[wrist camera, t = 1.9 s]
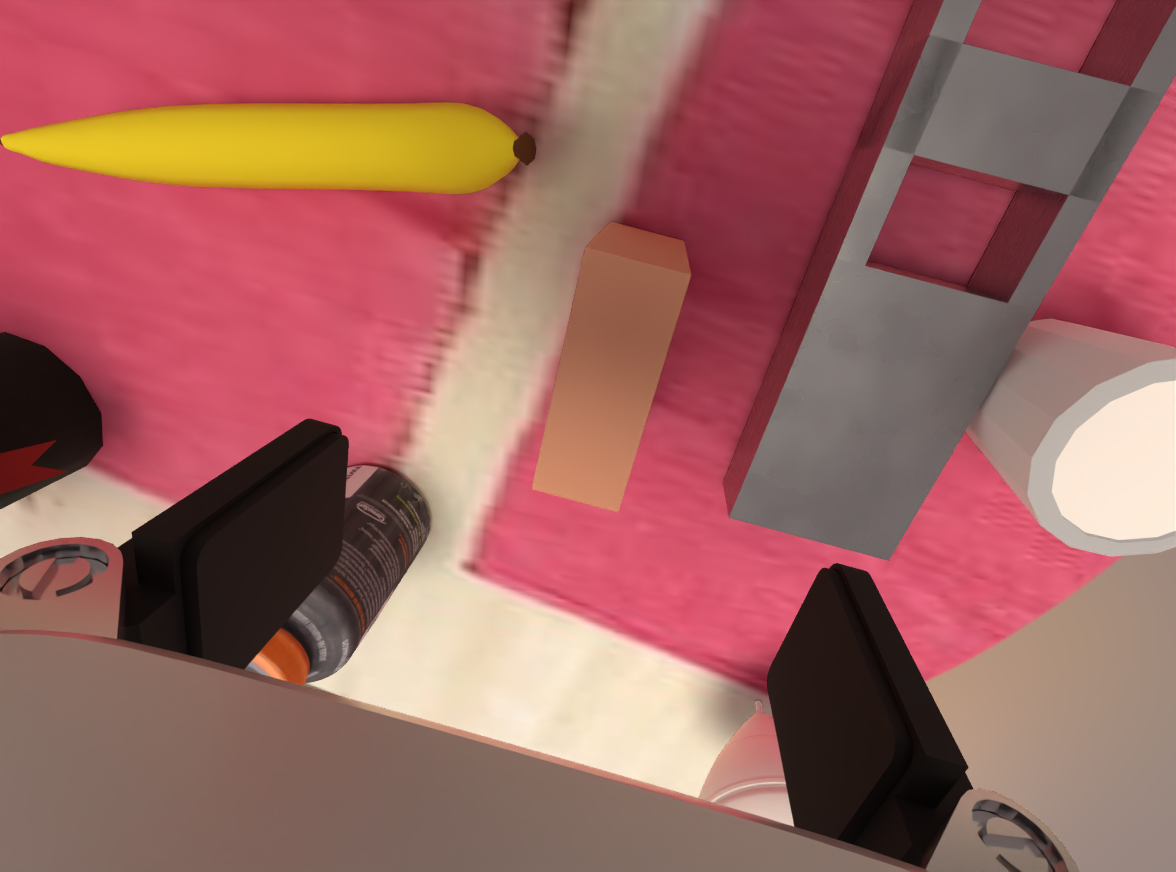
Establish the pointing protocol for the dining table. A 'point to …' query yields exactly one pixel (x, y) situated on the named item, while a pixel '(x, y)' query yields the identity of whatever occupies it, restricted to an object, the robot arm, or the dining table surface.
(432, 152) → the banana
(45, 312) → the dining table surface
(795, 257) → the dining table surface
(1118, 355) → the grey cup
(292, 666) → the pill bottle
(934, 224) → the dining table surface
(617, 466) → the orange block
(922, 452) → the grey slotted block
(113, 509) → the dining table surface
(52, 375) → the wine bottle
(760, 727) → the spinning top
